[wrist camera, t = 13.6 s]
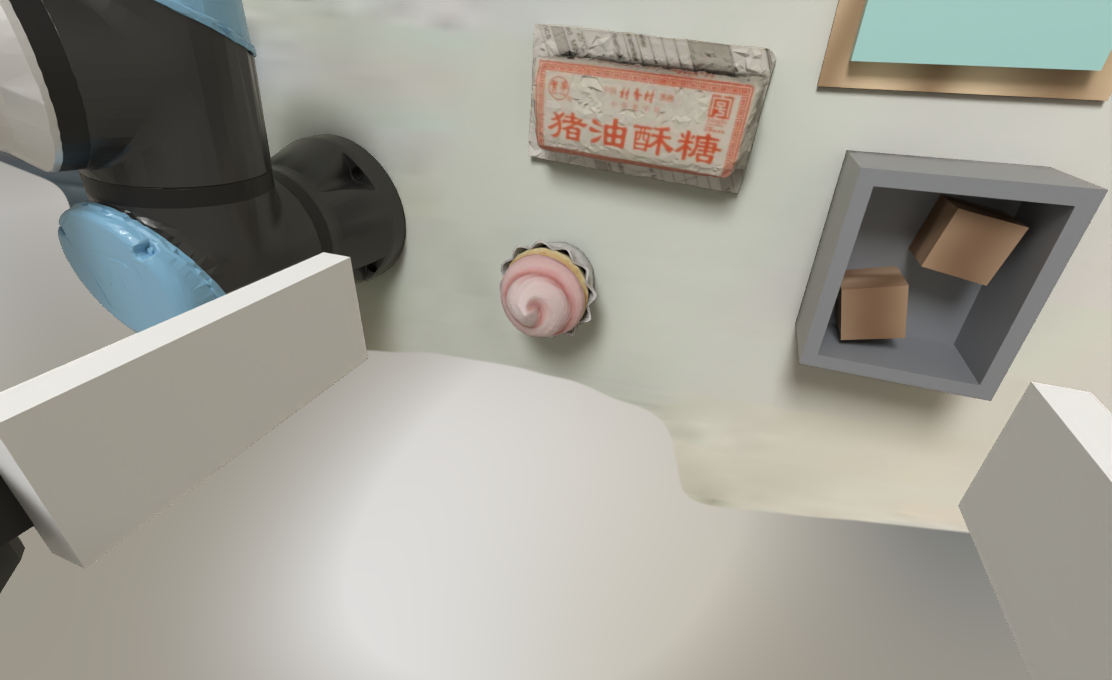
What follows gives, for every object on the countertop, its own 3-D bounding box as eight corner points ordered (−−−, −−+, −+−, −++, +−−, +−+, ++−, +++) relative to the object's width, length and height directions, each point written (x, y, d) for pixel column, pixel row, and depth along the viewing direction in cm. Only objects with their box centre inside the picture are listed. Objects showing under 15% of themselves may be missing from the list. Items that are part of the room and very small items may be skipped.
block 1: (835, 317, 41) (840, 340, 38) (835, 270, 40) (841, 289, 36) (894, 314, 40) (905, 338, 36) (896, 265, 38) (908, 285, 35)
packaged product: (780, 47, 32) (736, 206, 37) (779, 48, 36) (739, 191, 41) (515, 19, 36) (509, 164, 41) (540, 23, 40) (532, 154, 45)
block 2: (908, 247, 37) (921, 266, 34) (940, 194, 35) (958, 208, 32) (967, 265, 36) (986, 285, 33) (1004, 211, 34) (1028, 227, 31)
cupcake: (612, 320, 50) (580, 373, 42) (524, 313, 53) (479, 360, 45) (610, 225, 45) (574, 262, 37) (514, 223, 49) (462, 257, 40)
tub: (795, 323, 44) (799, 363, 38) (846, 150, 37) (860, 167, 31) (959, 351, 40) (990, 400, 34) (1050, 167, 33) (1108, 189, 28)
